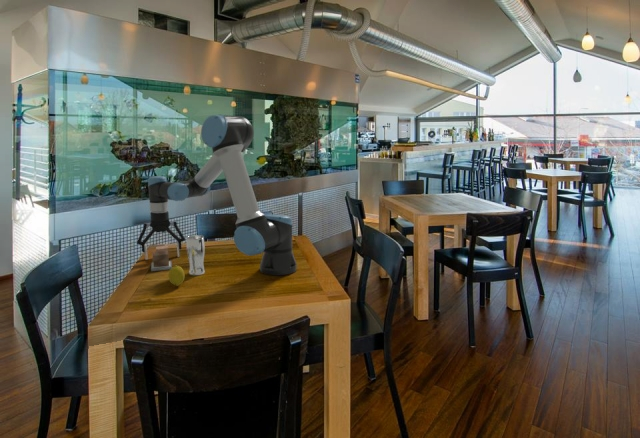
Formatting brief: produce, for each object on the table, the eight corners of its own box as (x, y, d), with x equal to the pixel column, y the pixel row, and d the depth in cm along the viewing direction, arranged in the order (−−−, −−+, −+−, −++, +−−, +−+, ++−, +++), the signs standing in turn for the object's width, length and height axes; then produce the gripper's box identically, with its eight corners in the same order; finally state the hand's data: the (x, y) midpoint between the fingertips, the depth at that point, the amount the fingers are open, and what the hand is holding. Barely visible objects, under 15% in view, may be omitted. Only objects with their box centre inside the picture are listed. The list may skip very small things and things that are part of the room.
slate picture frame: (171, 269, 176) (171, 266, 176) (151, 271, 173) (150, 268, 173) (171, 263, 184) (171, 260, 184) (151, 264, 181) (151, 262, 181)
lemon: (186, 283, 159) (185, 263, 158) (182, 288, 154) (181, 267, 152) (172, 283, 159) (170, 263, 158) (167, 288, 154) (165, 267, 152)
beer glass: (201, 276, 167) (199, 239, 164) (184, 275, 169) (182, 238, 166) (209, 270, 174) (207, 235, 171) (193, 269, 175) (191, 234, 172)
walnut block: (153, 267, 175) (152, 255, 174) (153, 263, 180) (152, 251, 179) (169, 265, 177) (168, 254, 176) (168, 261, 182) (167, 250, 181)
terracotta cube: (168, 259, 190) (168, 248, 189) (156, 260, 189) (156, 249, 188) (168, 256, 195) (167, 245, 194) (156, 257, 193) (156, 246, 192)
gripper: (188, 208, 195) (190, 252, 199) (129, 211, 187) (133, 257, 191) (189, 211, 188) (191, 257, 192) (127, 214, 180) (132, 262, 184)
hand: (162, 257), depth 192 cm, fingers open, 13 cm apart
